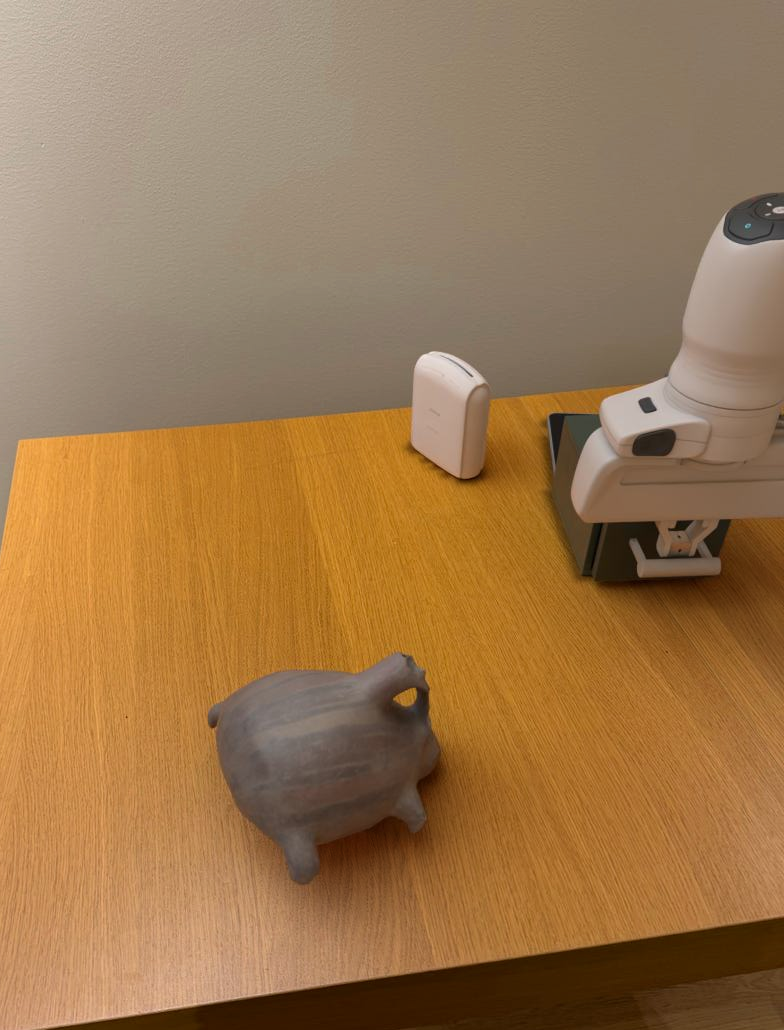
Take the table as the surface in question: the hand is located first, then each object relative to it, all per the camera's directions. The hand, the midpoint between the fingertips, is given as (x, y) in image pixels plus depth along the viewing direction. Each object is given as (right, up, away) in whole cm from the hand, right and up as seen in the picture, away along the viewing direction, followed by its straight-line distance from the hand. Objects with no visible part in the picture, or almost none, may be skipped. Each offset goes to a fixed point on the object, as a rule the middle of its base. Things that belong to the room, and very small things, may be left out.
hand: (674, 552), depth 83 cm
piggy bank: (-31, -21, -11) cm, 39 cm away
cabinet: (0, +4, +13) cm, 14 cm away
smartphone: (-1, +14, +24) cm, 28 cm away
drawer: (0, +1, +9) cm, 9 cm away
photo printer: (-17, +13, +25) cm, 33 cm away
